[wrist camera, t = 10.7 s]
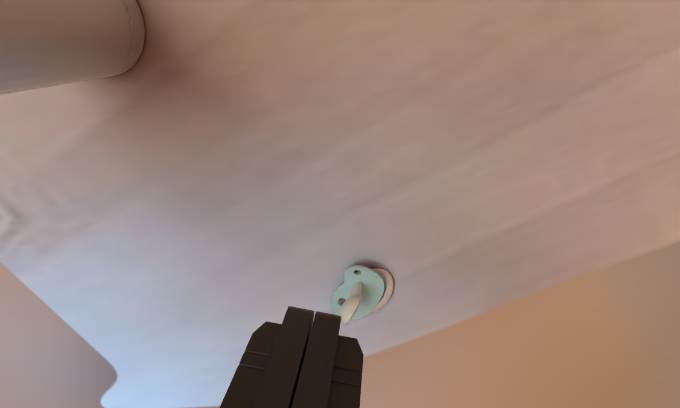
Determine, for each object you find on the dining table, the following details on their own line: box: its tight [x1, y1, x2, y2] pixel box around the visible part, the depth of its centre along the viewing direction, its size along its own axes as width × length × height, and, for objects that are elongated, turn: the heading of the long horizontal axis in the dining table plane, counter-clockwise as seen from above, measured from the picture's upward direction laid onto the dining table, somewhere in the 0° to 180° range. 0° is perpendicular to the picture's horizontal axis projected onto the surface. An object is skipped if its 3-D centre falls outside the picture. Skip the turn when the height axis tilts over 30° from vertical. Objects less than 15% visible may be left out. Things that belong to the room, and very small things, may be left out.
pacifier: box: [331, 265, 393, 325], centre depth 40 cm, size 7×6×6 cm
